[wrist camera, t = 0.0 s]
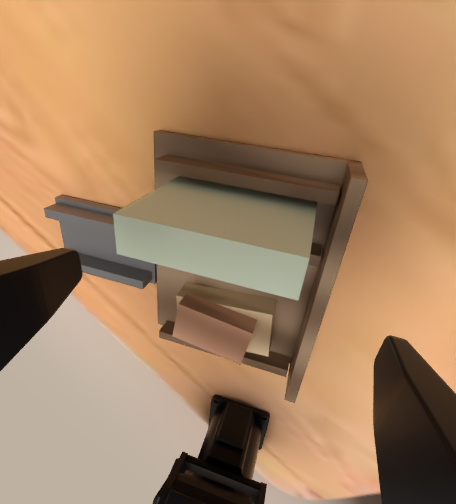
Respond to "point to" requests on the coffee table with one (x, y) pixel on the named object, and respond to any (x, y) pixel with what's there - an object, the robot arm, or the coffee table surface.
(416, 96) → the coffee table surface
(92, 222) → the stand
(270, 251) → the panel
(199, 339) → the offcut
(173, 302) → the rack
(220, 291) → the offcut
